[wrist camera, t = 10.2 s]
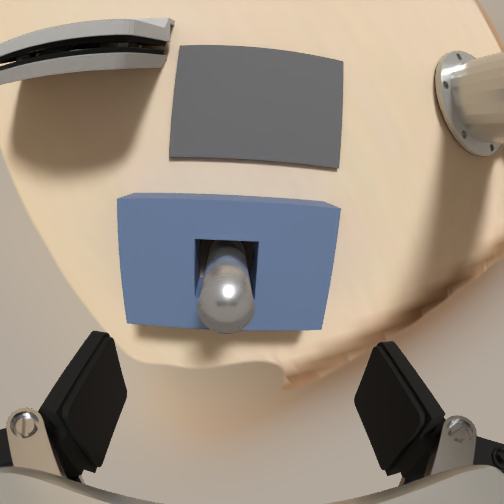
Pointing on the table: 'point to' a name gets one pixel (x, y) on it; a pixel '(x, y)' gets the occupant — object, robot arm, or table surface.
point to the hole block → (226, 228)
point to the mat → (257, 105)
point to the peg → (226, 289)
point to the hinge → (105, 58)
